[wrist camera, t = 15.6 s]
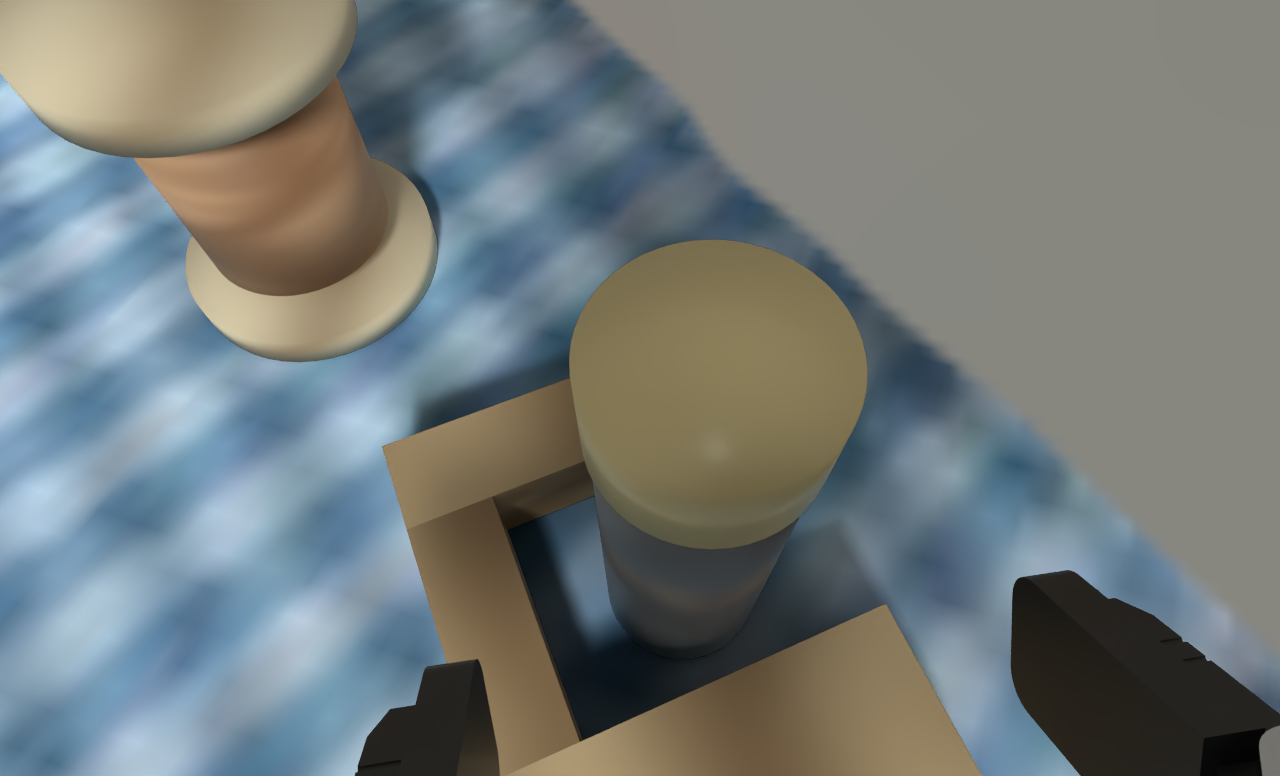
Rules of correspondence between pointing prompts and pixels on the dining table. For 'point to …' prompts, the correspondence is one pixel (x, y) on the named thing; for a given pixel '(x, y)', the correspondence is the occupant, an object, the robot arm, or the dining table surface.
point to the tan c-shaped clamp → (682, 728)
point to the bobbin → (239, 156)
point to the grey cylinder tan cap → (708, 428)
